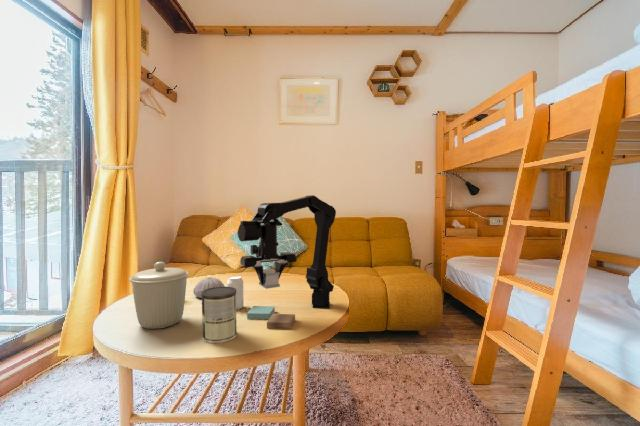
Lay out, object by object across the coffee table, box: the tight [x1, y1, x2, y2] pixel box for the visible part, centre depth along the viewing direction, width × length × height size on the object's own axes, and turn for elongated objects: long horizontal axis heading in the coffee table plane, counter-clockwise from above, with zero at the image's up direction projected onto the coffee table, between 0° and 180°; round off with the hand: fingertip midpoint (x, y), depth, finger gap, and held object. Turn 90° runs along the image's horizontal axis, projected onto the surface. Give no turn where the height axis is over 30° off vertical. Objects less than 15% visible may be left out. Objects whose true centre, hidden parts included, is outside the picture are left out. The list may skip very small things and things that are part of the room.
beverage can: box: [226, 275, 245, 311], centre depth 127 cm, size 6×6×12 cm
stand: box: [246, 305, 276, 320], centre depth 119 cm, size 8×8×2 cm
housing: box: [258, 268, 281, 290], centre depth 115 cm, size 7×5×5 cm
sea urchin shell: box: [192, 276, 226, 299], centre depth 144 cm, size 13×14×8 cm
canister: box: [128, 261, 190, 330], centre depth 111 cm, size 18×18×21 cm
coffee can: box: [201, 286, 238, 344], centre depth 101 cm, size 10×10×14 cm
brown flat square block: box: [266, 313, 296, 330], centre depth 111 cm, size 8×8×2 cm
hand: (269, 283), depth 115 cm, fingers closed on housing, 5 cm apart
